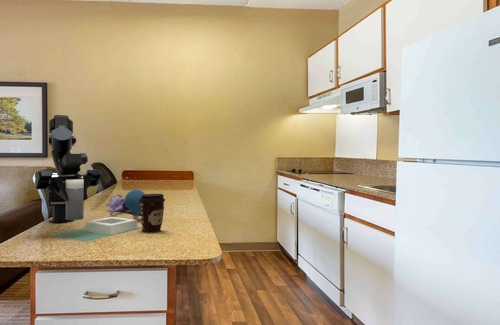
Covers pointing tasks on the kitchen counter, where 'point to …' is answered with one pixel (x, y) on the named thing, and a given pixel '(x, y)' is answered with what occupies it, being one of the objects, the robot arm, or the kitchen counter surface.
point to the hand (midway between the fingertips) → (76, 199)
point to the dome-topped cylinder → (75, 199)
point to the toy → (117, 204)
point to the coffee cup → (151, 212)
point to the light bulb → (134, 202)
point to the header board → (82, 235)
